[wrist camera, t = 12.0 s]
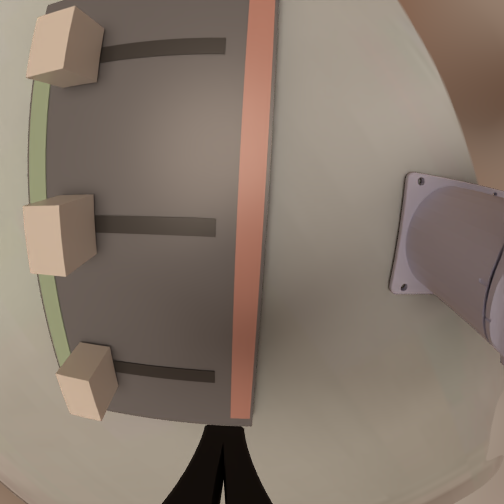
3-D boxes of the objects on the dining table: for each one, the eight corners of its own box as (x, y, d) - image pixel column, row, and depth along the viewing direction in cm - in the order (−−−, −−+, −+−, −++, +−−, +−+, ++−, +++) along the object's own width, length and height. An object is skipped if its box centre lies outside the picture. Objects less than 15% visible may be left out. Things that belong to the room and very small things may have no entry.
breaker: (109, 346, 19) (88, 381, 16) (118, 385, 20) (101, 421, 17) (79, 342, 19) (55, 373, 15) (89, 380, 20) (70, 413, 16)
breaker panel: (277, -11, 14) (279, -23, 13) (251, 413, 23) (251, 427, 22) (58, 12, 14) (47, 4, 12) (77, 391, 23) (70, 402, 21)
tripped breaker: (104, 28, 13) (75, 5, 10) (96, 82, 14) (63, 68, 11) (70, 35, 13) (37, 17, 10) (62, 87, 14) (25, 77, 11)
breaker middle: (93, 194, 16) (59, 205, 13) (96, 253, 17) (65, 276, 14) (60, 195, 16) (22, 206, 13) (64, 251, 17) (30, 273, 14)
